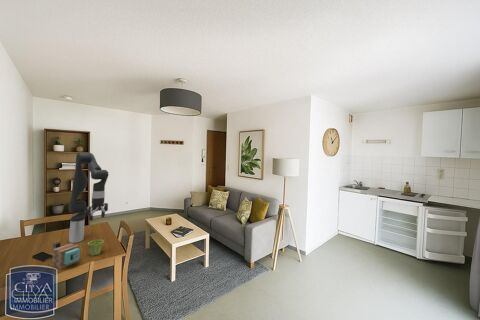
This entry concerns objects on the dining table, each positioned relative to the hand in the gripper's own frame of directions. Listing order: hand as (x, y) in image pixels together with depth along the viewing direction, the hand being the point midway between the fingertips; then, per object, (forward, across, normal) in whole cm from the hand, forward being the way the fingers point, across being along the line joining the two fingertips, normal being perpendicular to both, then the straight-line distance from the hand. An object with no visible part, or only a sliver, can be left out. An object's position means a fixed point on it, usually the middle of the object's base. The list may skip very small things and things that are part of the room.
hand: (96, 218), depth 143 cm
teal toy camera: (+23, +17, +3) cm, 28 cm away
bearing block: (+26, +17, -3) cm, 31 cm away
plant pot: (+26, 0, 0) cm, 26 cm away
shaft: (+20, +17, -5) cm, 26 cm away
